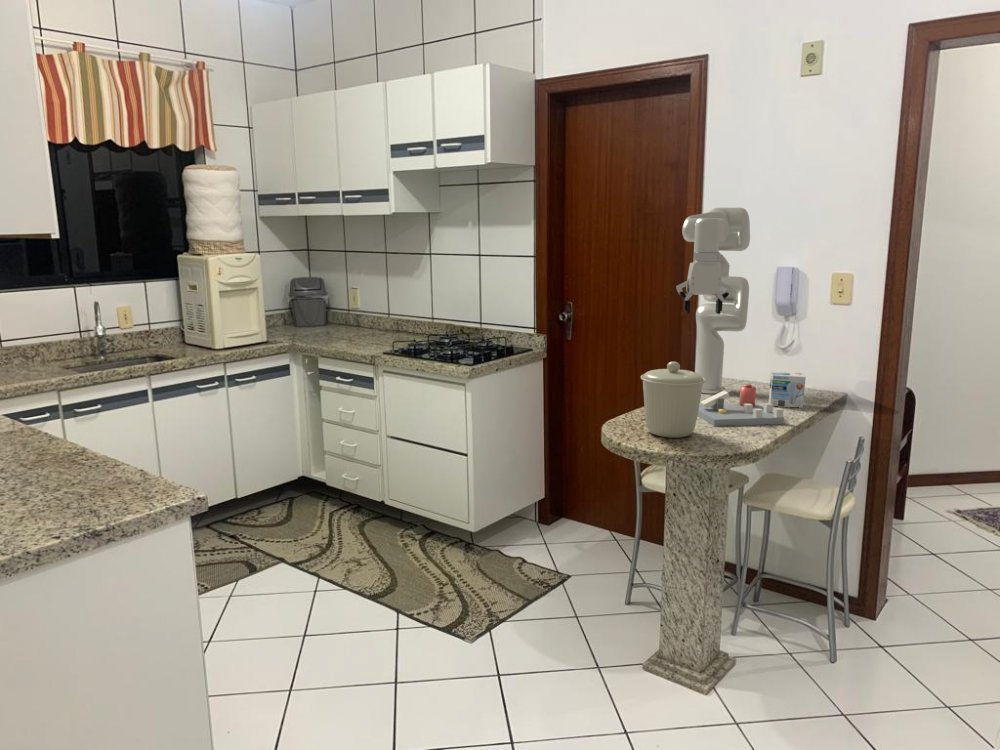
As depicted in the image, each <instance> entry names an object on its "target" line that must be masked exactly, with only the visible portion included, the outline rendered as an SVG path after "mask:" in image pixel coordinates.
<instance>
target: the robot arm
mask: <svg viewBox="0 0 1000 750" xmlns="http://www.w3.org/2000/svg"><path fill="white" fill-rule="evenodd" d="M750 227H751V221H750V216H749V212H748V210H747V209H745V208H744V207H714V208H712V209H710V210H709V211H708V212H703V213H700V214H699V213H698V214H692V215H689V216H688V217H686V218H685V220H684V223H683V225H682V227H681V229H682V230H681V231H682V232H681V233H682V237H683V240H685V241H686V242H687V243H688V242H689V243H693V259H692V261H693V262H690V263H689V267H688V273H687V280H686V281H684V282H682V283H680V284H678V285H676V287H675V288H676V291H677V292H678V295H679V296H680V297H681V299H683V311H684V312H685V314H690V311H691V301H690V299H691V297H692V296H693V295H695V296H696V295H698V296H700V295H701V296H702V297H703V298H704V300H705V301H707V302H708V303H704V304H701V305H699V306H698V307H697V308H696V311H695V322H696V349H695V350H696V355H695V369H694V372H695V373H698V374H700V375H701V376H702V377H704V378H705V379H706V381H705V382H704V383H703V387H702V393H701V394H709V395H710V394H711V395H716V394H718V393H720V392H722V391H724V390H726V389H727V388H726V387H725V386H723V384H722V383H723V368H724V366H723V365H724V353H725V342H724V340H723V338H722V337H721V335H720V334H719V332H742V331H743V330H744V329H745V328H746V325H747V321H748V311H749V310H748V308H749V298H750V297H749V296H750V285H749V284H750V283H749V282H748V279H747V278H746V277H743V276H730V263H729V261H728V260H727V258H726V257H725V256H724V255H723V254H722V253H721V252H720V251H722V252H723V251H725V252H726V251H727V252H728V251H730V252H743V251H745V250H747V249H748V247H749V246H750V243H751V228H750ZM683 288H686V289H685V290H686V293H685V292H684V291H683ZM709 302H710V303H709Z"/></svg>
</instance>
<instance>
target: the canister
mask: <svg viewBox="0 0 1000 750" xmlns="http://www.w3.org/2000/svg"><path fill="white" fill-rule="evenodd" d="M680 368H681V365H680V363H679V362H677V361H670V362H668V363H667V365H666V368H658V369H651V370H649V371H647V372H645V373H643V374H641V375H640V379H641V380H642V390H643V402H644V404H643V405H644V406H643V407H644V415H645V425H646V427H647V430H648V431H649V433H651V434H653V435H654V436H658V437H663V438H669V439H670V438H672V439H674V438H675V439H676V438H685V437H689V436H690V435H692V433H693V432H694V431H695V428H696V425H697V419H698V416H697V415H698V410H699V405H701V403H700V402H701V398H702V394H703V393H702V387H703V383H704V382H705V381H706V379H705V378H704V377H702V376H701V375H700V374H698V373H695V371H691V370H688V369H680Z"/></svg>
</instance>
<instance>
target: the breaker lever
mask: <svg viewBox="0 0 1000 750" xmlns="http://www.w3.org/2000/svg"><path fill="white" fill-rule="evenodd" d="M713 395H714V396H712V397H711V396H709V397H707V398H706V399H704V400H702V401H701V400H700V405H702V407H704V408H706V409H707V408H709V407H711V406H713V405H715V404H717V398H723V399H724V401H725V400H727V399H729V398H731V397H733V396H735V393H734V390H732V389H731V388H729V387H728V388H726V390H724V391H722V392H720V393H718V394H713Z"/></svg>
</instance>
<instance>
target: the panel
mask: <svg viewBox="0 0 1000 750" xmlns="http://www.w3.org/2000/svg"><path fill="white" fill-rule="evenodd" d="M714 395H715V394H711V395H710V397H712V396H714ZM697 417H698V418H700V419H702V418H703V419H702V420H703V421H705V420H706V421H705V422H707V423H708V422H709V423H708V424H709V425H711V424H712V425H711V426H713V425H714V426H713V427H725V426H726V427H727V425H729V426H730V425H734V426H759V425H760V426H763V424H768V425H784V419H785V418H784V409H783V408H782V407H774V406H773V404H771V403H769V402H765V403H763V406H761V405H759V404H757V403H756V402H755V406H754V407H753V405H752V404H744V407H743V406H740V405H739V403H725V400H724V399H723V398H717V404H715V405H713V406H711V407H709V408H707V409H706V408H704V407H702V405H701V404H699V410H698V416H697ZM730 427H731V426H730Z"/></svg>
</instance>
